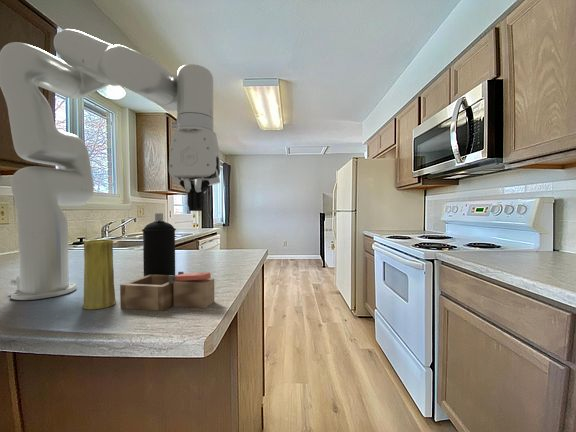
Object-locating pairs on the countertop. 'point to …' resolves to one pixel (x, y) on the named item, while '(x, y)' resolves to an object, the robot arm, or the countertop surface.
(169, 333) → the countertop surface
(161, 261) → the aerosol can
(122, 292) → the block
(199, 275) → the keeper bar
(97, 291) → the vase
